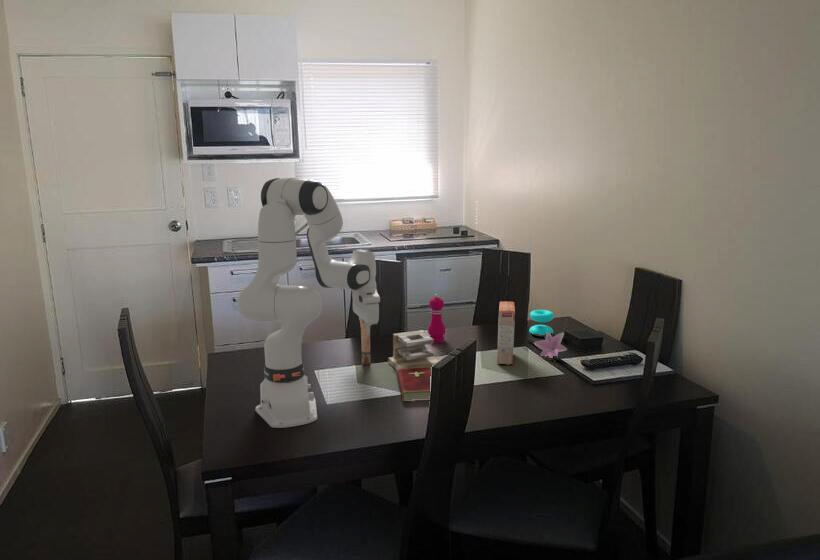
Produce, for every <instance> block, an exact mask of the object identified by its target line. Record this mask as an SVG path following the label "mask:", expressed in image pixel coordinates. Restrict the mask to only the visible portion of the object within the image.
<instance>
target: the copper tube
mask: <svg viewBox="0 0 820 560" xmlns="http://www.w3.org/2000/svg"><path fill="white" fill-rule="evenodd" d="M364 327H365V321H364V320H363V319H362V318H361V325H360V338H361V339H360V341H361V365H362V366H369V365H371V363H372V362H371V331H370V332H365V330H364Z"/></svg>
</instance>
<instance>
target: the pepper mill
mask: <svg viewBox="0 0 820 560" xmlns="http://www.w3.org/2000/svg"><path fill="white" fill-rule="evenodd" d="M428 303H429V305H428V306H429V307H430V314H431V320H430V322H429V325H428V327H427V333H428V336H429V337H431V338H432V339H434V343H433V344H441V343H440V342H442V343H444V342H445V334H446V326H445V325H444V322H443V319H442V315H443V313H444V312H443V311H444V310H443V308H444V306H445V301H444V300H443V298H441V297H440V296H439V294H438V293H435V294H434V297H432V298H431V299H430V300H429V302H428ZM443 341H444V342H443Z"/></svg>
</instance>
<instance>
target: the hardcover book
mask: <svg viewBox="0 0 820 560" xmlns="http://www.w3.org/2000/svg"><path fill="white" fill-rule="evenodd" d="M396 376H397V381H398V386H399V390H400V394H401V395H400V396H401V399H402V402H403V401H404V400H412V399H426V398H427V399H429V396H430V376H431V367H421V368H399V369H398V370H396Z"/></svg>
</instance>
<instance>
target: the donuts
mask: <svg viewBox="0 0 820 560" xmlns="http://www.w3.org/2000/svg"><path fill="white" fill-rule="evenodd" d="M554 317H555V314H554V312H553V311H551V310H547V309H535V310H531V311H530V312H529V318H530V319H531V320H533V321H534V322H538V323H548V322H551V321H552V320H554ZM529 332H530V333H532V334H539V335H545V334H546V333H547V332H549V333H550V334H551V333H553V334H554V330H553V328H552V327H551V326H549V325H545V324H534V325H532V326H530V328H529ZM530 333H529V334H530Z"/></svg>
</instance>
